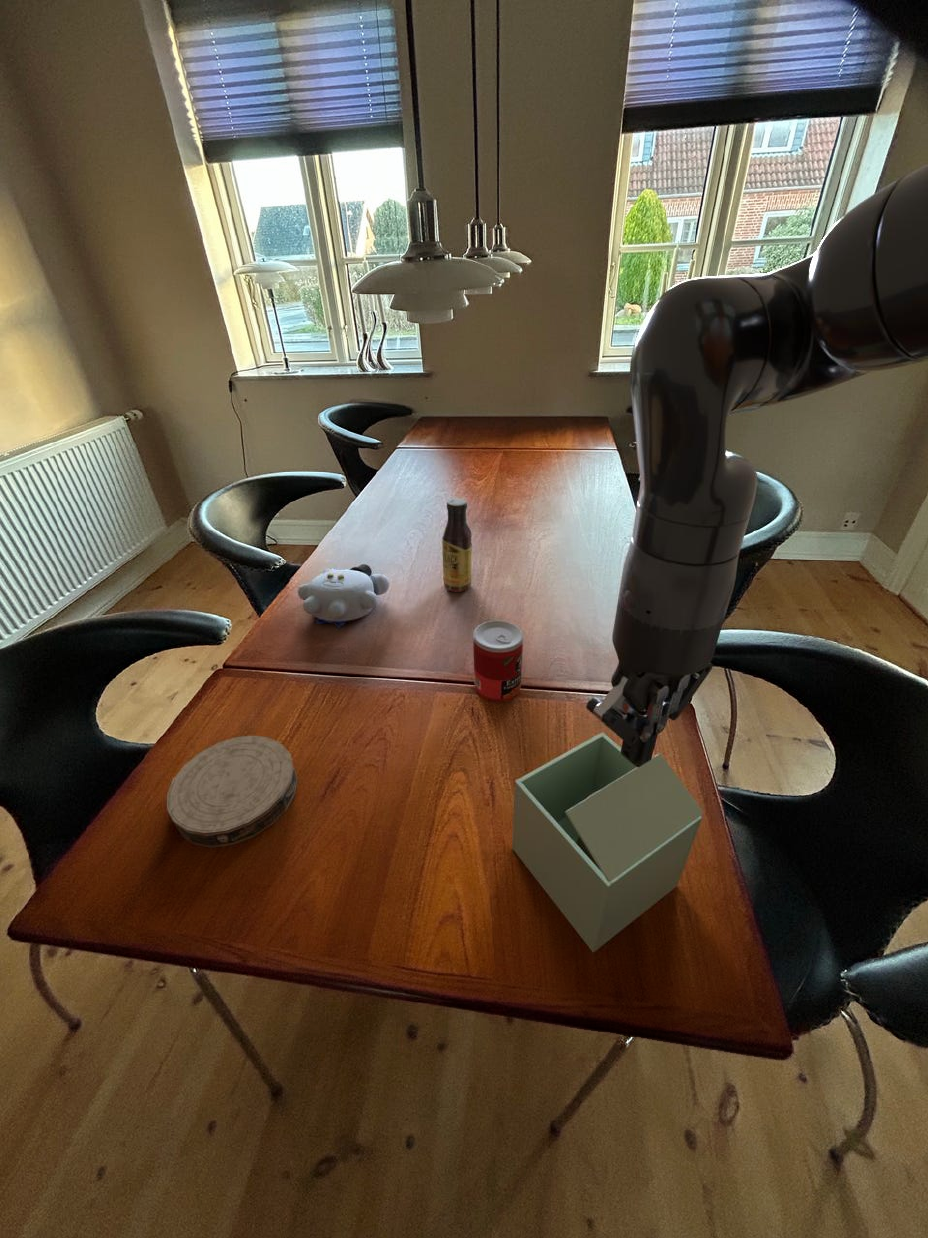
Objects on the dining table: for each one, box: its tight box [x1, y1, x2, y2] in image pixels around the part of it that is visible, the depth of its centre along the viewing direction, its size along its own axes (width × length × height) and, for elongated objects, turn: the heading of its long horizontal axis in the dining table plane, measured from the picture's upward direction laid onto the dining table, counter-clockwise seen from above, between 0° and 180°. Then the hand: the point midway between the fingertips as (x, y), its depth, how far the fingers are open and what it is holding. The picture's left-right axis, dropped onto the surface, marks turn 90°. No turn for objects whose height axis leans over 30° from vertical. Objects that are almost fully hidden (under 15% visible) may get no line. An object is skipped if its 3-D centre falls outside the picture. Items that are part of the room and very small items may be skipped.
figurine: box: [297, 563, 390, 628], centre depth 109 cm, size 17×8×20 cm
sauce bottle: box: [441, 497, 473, 593], centre depth 111 cm, size 6×6×20 cm
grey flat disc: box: [166, 735, 298, 848], centre depth 71 cm, size 16×16×3 cm
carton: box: [511, 732, 703, 953], centre depth 59 cm, size 14×13×12 cm
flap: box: [565, 752, 705, 882], centre depth 51 cm, size 7×13×1 cm, turn 122°
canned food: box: [472, 620, 524, 703], centre depth 86 cm, size 8×8×11 cm
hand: (636, 757), depth 49 cm, fingers closed
